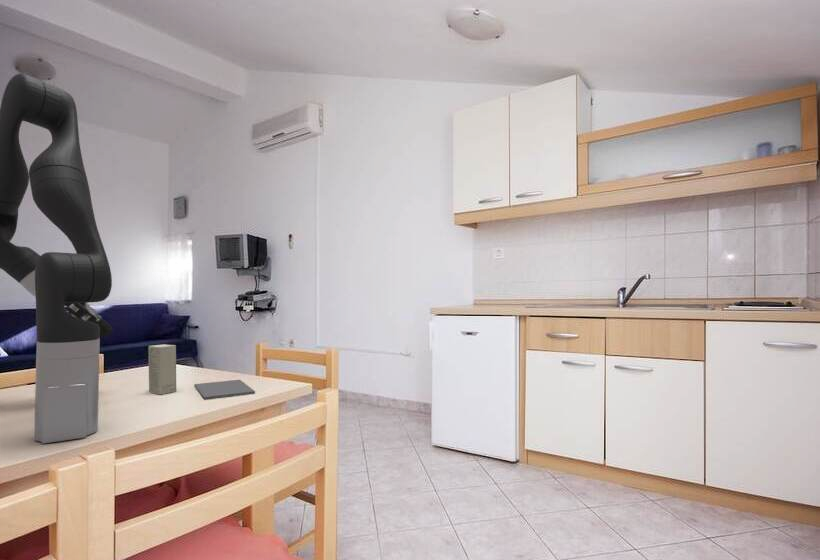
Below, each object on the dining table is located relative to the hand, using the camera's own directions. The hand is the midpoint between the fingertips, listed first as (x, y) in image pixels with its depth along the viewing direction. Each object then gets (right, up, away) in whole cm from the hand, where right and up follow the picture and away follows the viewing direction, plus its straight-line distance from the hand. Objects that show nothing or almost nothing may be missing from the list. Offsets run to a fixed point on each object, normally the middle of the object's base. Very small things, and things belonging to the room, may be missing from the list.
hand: (109, 333), depth 109 cm
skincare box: (+10, -16, +6) cm, 20 cm away
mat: (+25, -16, +8) cm, 31 cm away
